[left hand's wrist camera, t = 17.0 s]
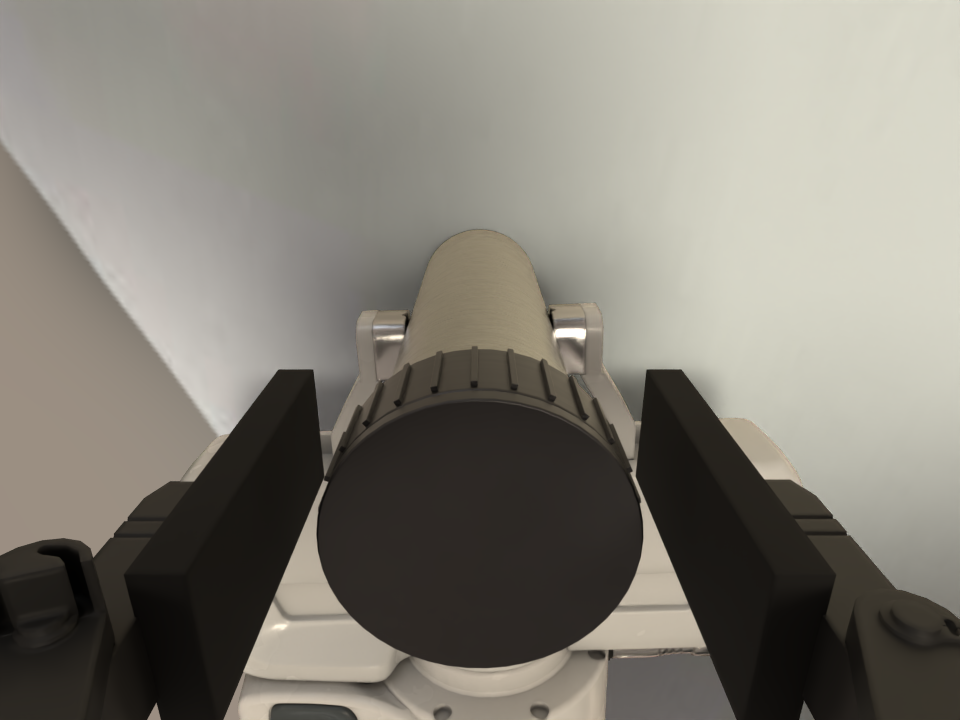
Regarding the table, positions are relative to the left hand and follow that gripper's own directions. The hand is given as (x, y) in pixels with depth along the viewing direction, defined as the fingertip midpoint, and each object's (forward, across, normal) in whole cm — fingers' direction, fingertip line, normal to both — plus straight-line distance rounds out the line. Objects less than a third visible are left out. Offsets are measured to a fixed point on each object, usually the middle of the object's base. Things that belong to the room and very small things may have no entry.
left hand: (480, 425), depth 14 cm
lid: (-4, 0, 0) cm, 4 cm away
